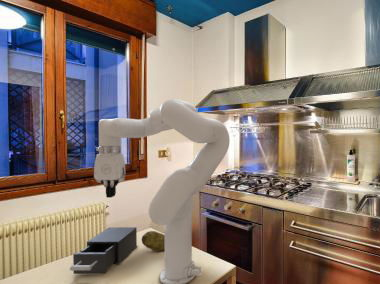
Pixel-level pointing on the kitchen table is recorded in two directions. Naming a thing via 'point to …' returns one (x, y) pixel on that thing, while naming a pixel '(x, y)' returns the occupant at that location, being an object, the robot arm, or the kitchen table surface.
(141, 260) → the kitchen table surface
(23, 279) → the kitchen table surface
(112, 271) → the kitchen table surface
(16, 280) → the kitchen table surface
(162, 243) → the potato
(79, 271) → the handled dark box
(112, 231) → the dark gray cabinet
